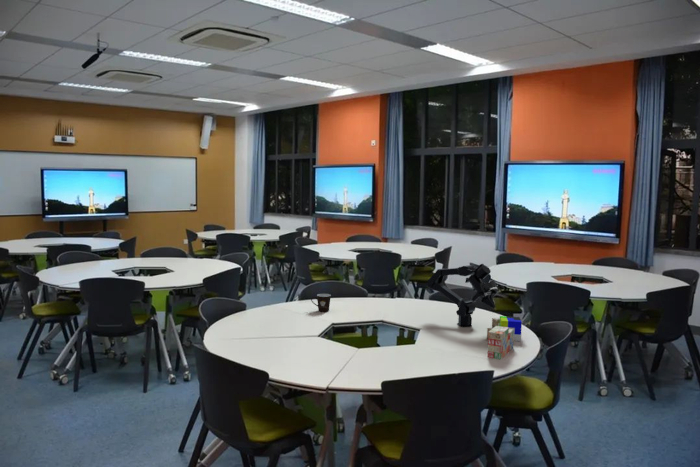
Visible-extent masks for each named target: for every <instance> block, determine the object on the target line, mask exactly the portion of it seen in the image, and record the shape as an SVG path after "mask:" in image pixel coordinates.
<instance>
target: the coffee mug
mask: <svg viewBox="0 0 700 467" xmlns="http://www.w3.org/2000/svg"><path fill="white" fill-rule="evenodd" d="M331 297H332V295H331V294H329V293H318V294H316V296H312V297H310V298H311V299H310V301H311V302H312V304H313V305H315V306H316V307H317V308H318V312H319V313H328V312H329V311H330V305H331ZM313 299H316V301H317V304H316V303H315V302H314V301H313Z"/></svg>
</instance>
